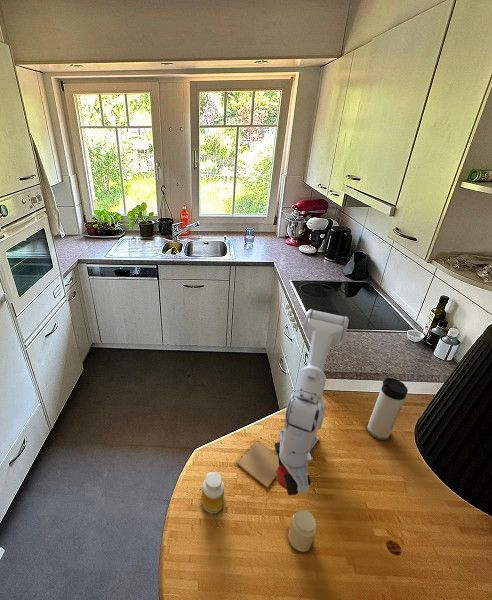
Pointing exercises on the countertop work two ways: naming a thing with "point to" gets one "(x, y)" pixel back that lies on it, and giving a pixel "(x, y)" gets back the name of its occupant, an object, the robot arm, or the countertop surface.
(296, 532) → the jar
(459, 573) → the countertop surface
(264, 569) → the countertop surface
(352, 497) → the countertop surface
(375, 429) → the travel mug
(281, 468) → the lid
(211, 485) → the supplement bottle
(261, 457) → the trivet
